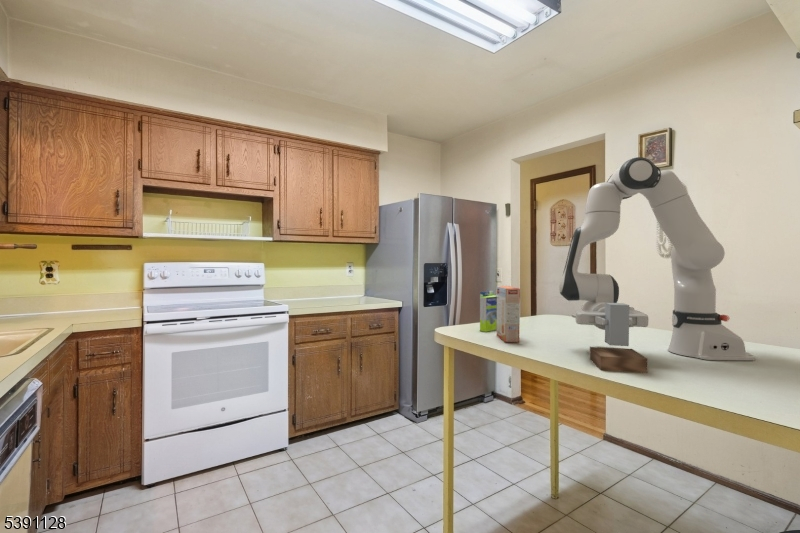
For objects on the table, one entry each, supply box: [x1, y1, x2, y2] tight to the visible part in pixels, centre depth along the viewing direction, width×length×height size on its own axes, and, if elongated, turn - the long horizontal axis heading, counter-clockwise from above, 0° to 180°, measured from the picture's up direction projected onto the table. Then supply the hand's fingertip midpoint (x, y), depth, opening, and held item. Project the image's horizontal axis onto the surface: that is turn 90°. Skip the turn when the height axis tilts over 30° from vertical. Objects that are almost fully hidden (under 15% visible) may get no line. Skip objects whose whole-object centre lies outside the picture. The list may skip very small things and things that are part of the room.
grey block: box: [604, 302, 630, 347], centre depth 114 cm, size 5×5×12 cm
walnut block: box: [589, 346, 648, 374], centre depth 114 cm, size 12×12×4 cm
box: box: [479, 290, 497, 333], centre depth 171 cm, size 10×4×17 cm, turn 132°
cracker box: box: [495, 285, 521, 344], centre depth 152 cm, size 14×6×21 cm, turn 179°
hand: (617, 322), depth 113 cm, fingers closed on grey block, 5 cm apart
